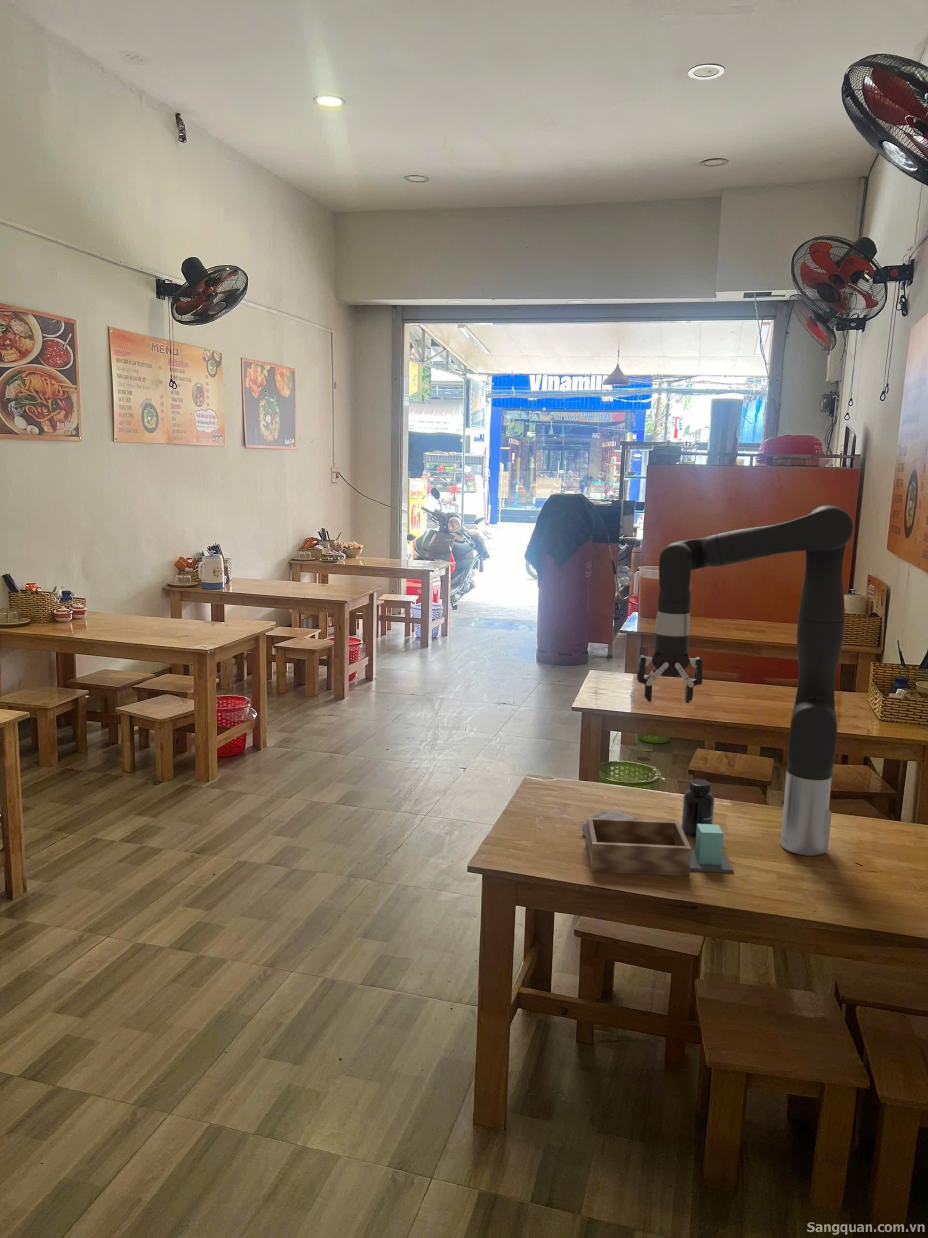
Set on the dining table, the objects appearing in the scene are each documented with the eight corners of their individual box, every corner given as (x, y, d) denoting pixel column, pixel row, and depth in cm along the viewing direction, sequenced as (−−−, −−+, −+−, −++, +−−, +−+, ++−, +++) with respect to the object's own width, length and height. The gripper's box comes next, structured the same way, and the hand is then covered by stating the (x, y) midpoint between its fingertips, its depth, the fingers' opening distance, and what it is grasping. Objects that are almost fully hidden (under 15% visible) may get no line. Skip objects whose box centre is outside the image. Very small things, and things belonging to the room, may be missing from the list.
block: (716, 855, 188) (718, 824, 186) (720, 865, 183) (723, 833, 182) (694, 854, 188) (697, 823, 187) (699, 863, 183) (701, 832, 182)
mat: (723, 854, 190) (723, 851, 190) (733, 873, 181) (733, 870, 181) (681, 852, 190) (681, 849, 190) (689, 870, 181) (689, 868, 181)
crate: (677, 847, 193) (678, 821, 192) (689, 876, 179) (691, 848, 178) (586, 843, 194) (587, 817, 193) (591, 871, 180) (592, 844, 179)
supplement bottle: (711, 840, 197) (714, 789, 195) (680, 835, 199) (683, 785, 197) (712, 828, 204) (716, 779, 202) (682, 824, 206) (685, 775, 204)
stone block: (578, 844, 198) (619, 846, 193) (576, 823, 198) (616, 825, 193) (601, 829, 208) (641, 831, 202) (599, 809, 208) (638, 810, 202)
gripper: (701, 629, 199) (696, 698, 202) (638, 627, 200) (634, 696, 203) (708, 635, 192) (703, 707, 195) (642, 633, 193) (638, 705, 195)
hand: (667, 701), depth 199 cm, fingers open, 8 cm apart
